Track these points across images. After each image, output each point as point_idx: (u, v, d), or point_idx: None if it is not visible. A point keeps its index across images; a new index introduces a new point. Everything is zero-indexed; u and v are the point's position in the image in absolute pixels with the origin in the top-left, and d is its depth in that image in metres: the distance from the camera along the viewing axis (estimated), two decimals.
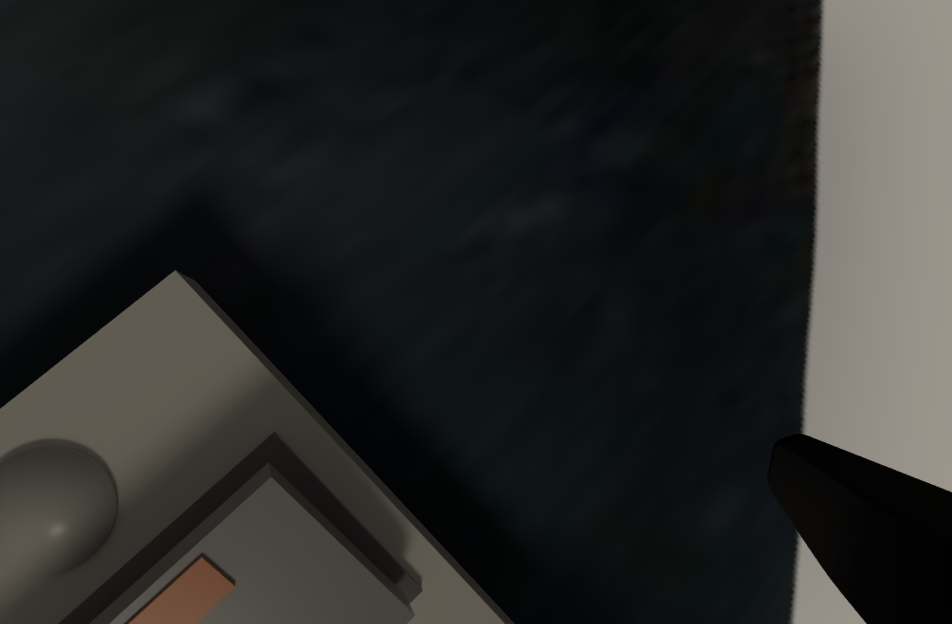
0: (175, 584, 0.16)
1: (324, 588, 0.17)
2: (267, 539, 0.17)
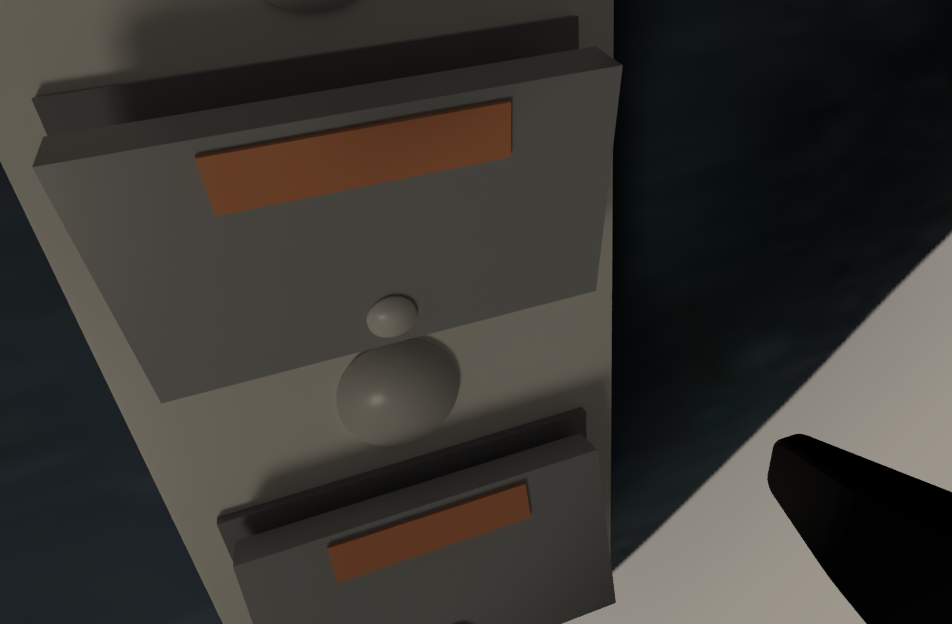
0: (470, 113, 0.13)
1: (563, 215, 0.15)
2: (566, 130, 0.14)
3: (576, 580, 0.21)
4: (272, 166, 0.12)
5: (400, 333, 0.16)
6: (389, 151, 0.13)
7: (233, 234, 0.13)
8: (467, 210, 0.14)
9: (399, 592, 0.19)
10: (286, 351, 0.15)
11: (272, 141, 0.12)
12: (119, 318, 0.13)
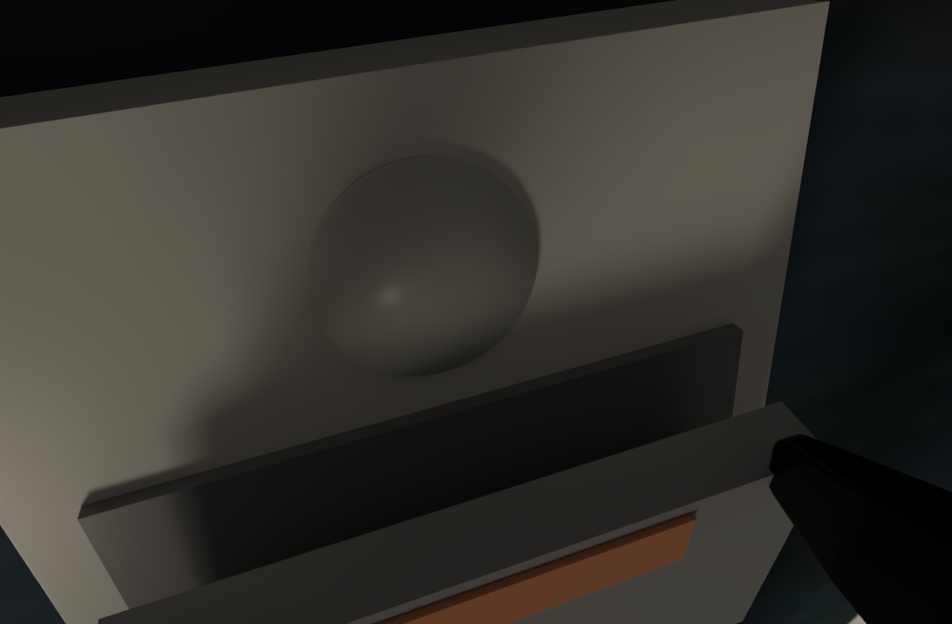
0: (646, 539, 0.10)
1: (725, 579, 0.12)
2: (750, 518, 0.11)
3: None
4: None
5: None
6: (540, 585, 0.10)
7: None
8: (619, 604, 0.11)
9: None
10: None
11: (401, 617, 0.09)
12: None
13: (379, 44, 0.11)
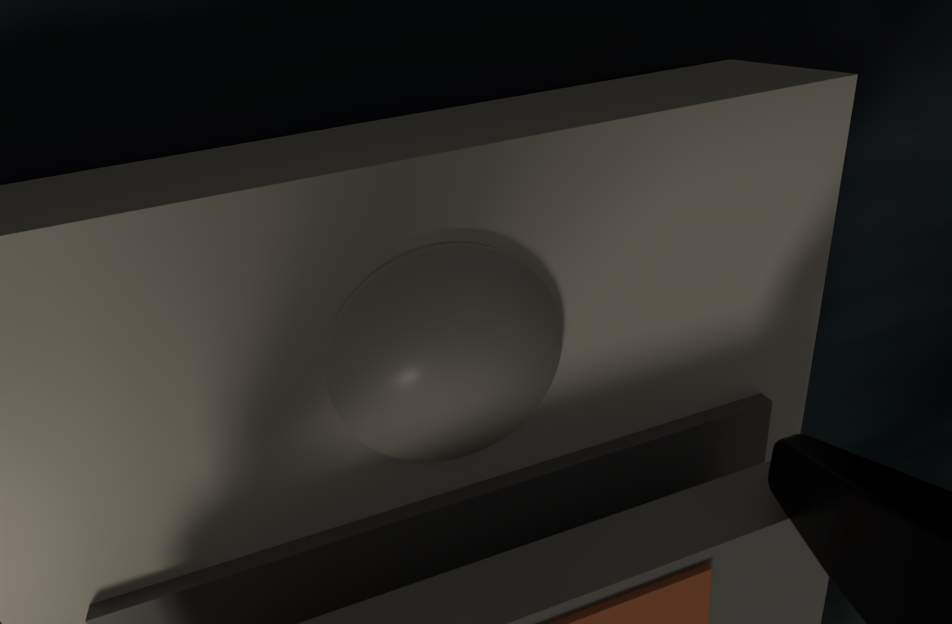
0: (661, 591, 0.09)
1: None
2: (774, 576, 0.10)
3: None
4: None
5: None
6: None
7: None
8: None
9: None
10: None
11: None
12: None
13: (396, 119, 0.11)
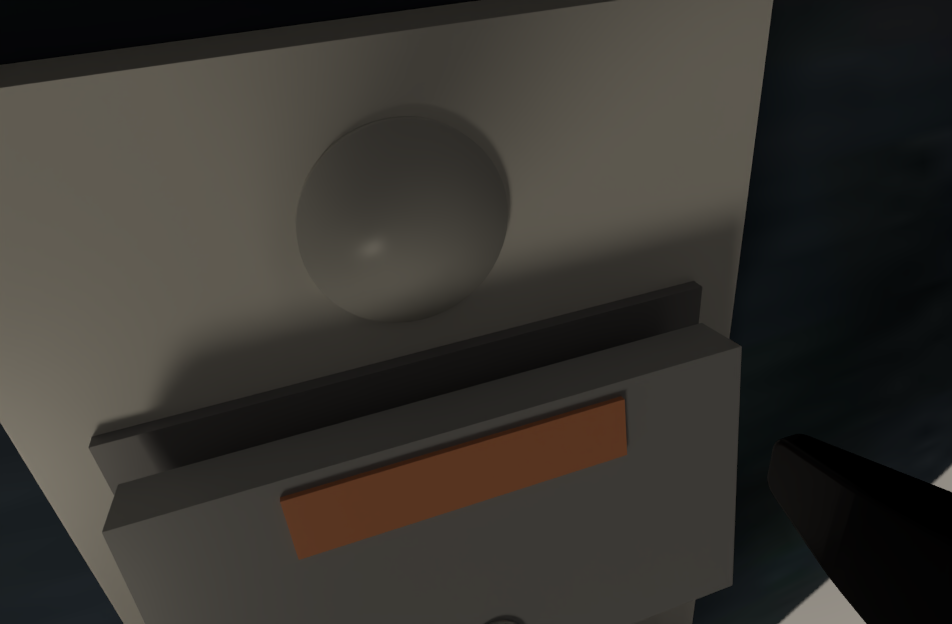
0: (580, 415, 0.11)
1: (688, 507, 0.13)
2: (686, 418, 0.12)
3: None
4: (364, 499, 0.10)
5: None
6: (492, 465, 0.11)
7: (317, 575, 0.11)
8: (581, 516, 0.12)
9: None
10: None
11: (365, 472, 0.10)
12: None
13: (364, 17, 0.12)
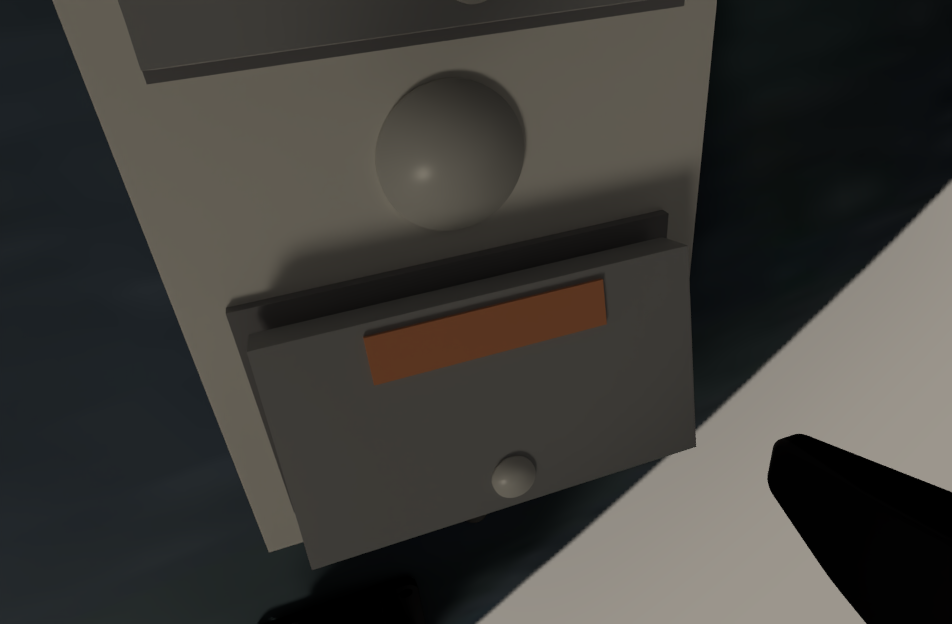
0: None
1: None
2: None
3: (653, 413, 0.18)
4: None
5: (483, 1, 0.11)
6: None
7: None
8: None
9: (447, 407, 0.16)
10: (324, 4, 0.10)
11: None
12: None
13: None
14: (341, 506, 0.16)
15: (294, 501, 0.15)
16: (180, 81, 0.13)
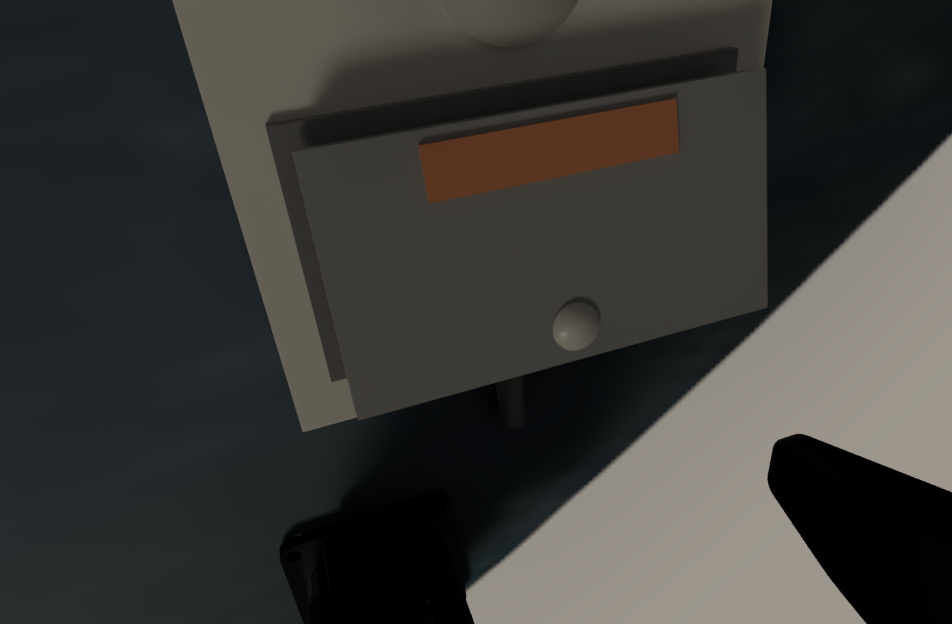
0: None
1: None
2: None
3: (724, 264, 0.16)
4: None
5: None
6: None
7: None
8: None
9: (507, 238, 0.14)
10: None
11: None
12: None
13: None
14: (391, 347, 0.14)
15: (340, 336, 0.14)
16: None
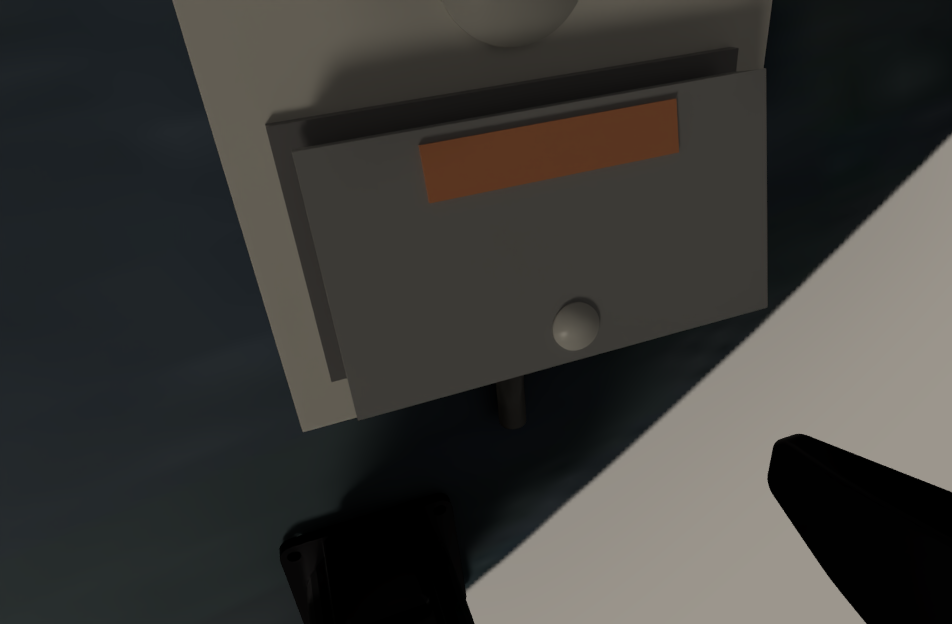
0: None
1: None
2: None
3: (724, 264, 0.16)
4: None
5: None
6: None
7: None
8: None
9: (507, 238, 0.14)
10: None
11: None
12: None
13: None
14: (391, 347, 0.14)
15: (340, 336, 0.14)
16: None
